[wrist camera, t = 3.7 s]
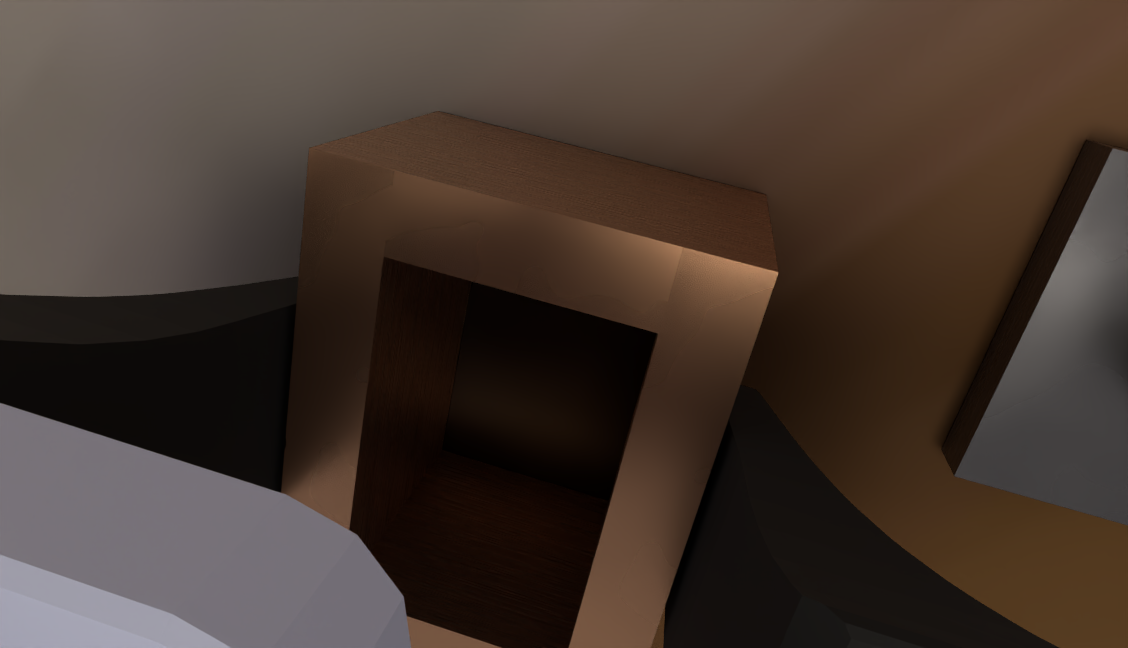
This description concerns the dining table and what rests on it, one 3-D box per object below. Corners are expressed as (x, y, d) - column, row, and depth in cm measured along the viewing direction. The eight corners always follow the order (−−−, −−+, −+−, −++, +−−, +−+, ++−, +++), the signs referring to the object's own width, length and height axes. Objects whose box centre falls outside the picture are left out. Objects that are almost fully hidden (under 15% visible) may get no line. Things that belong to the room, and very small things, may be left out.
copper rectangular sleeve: (648, 561, 14) (617, 743, 11) (385, 478, 15) (270, 625, 11) (765, 194, 12) (778, 272, 8) (437, 111, 12) (308, 147, 9)
